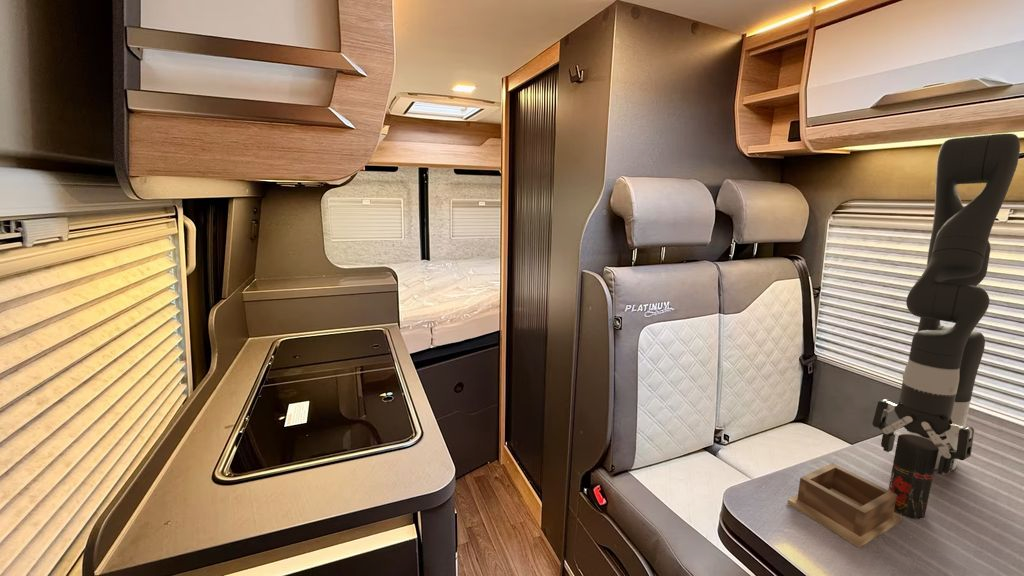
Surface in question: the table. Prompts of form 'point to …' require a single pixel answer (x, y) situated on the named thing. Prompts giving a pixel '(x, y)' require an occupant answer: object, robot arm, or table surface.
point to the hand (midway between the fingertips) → (913, 461)
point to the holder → (846, 504)
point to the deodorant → (913, 474)
